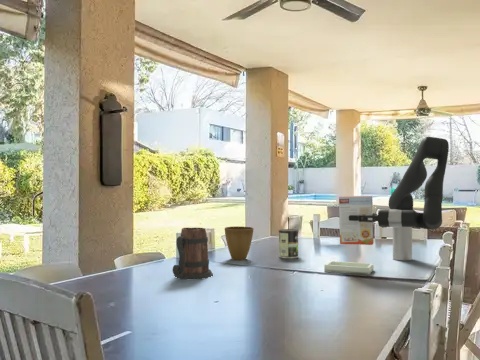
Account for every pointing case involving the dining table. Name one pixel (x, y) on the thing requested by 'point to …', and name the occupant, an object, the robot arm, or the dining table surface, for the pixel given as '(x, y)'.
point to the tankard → (192, 254)
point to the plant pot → (238, 241)
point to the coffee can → (288, 243)
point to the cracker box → (354, 229)
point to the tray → (348, 267)
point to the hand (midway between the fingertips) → (350, 217)
